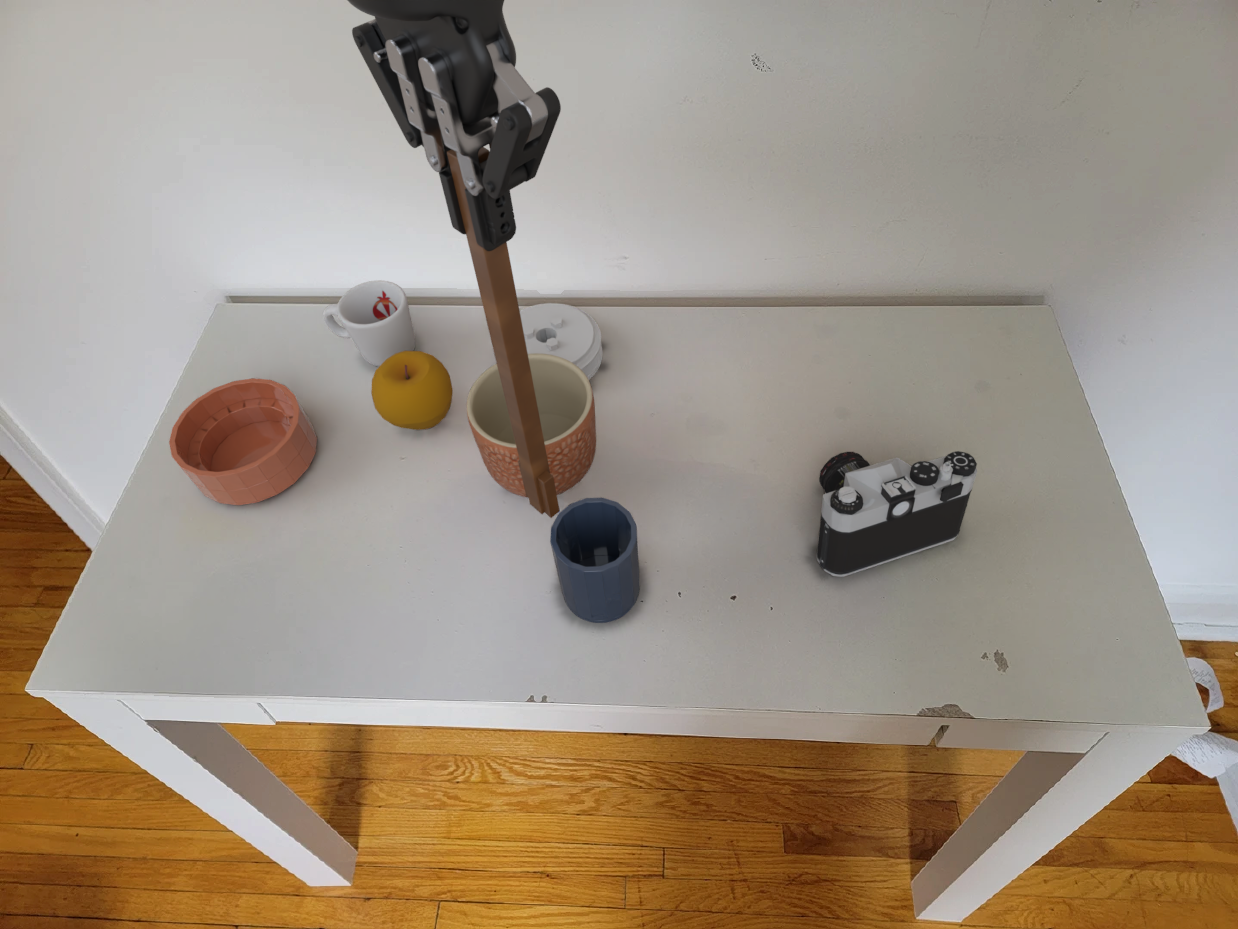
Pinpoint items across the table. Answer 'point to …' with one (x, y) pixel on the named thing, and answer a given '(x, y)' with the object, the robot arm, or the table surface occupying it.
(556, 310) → the white thick round disc
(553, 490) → the stick
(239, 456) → the bowl
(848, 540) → the camera
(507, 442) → the planter
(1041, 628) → the table surface
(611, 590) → the crock
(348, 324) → the cup
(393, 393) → the apple
